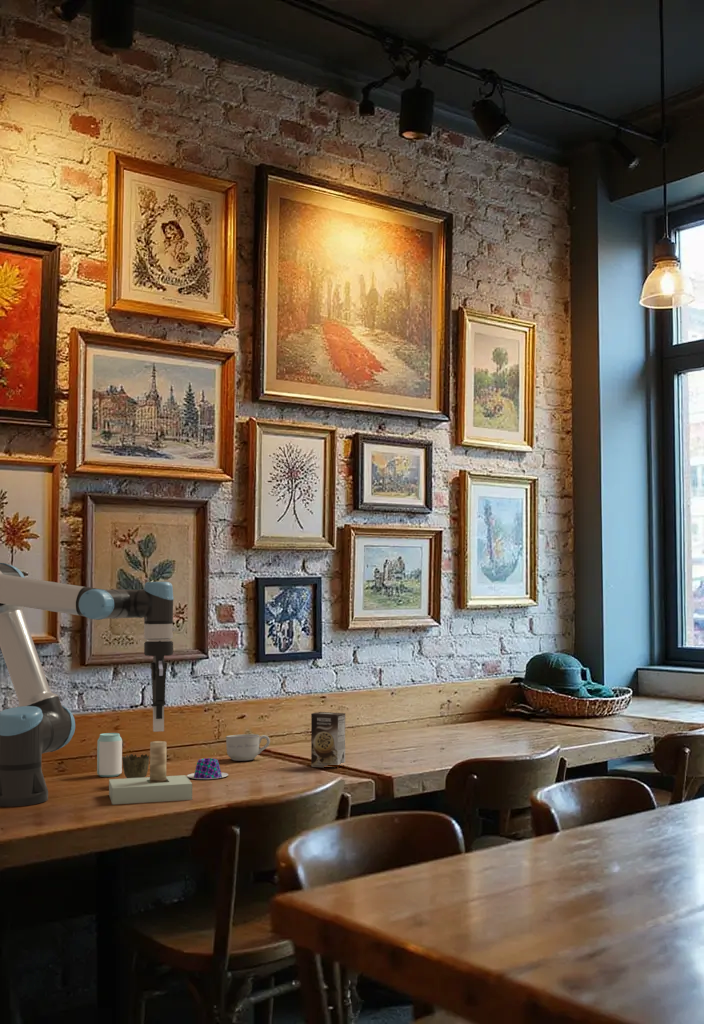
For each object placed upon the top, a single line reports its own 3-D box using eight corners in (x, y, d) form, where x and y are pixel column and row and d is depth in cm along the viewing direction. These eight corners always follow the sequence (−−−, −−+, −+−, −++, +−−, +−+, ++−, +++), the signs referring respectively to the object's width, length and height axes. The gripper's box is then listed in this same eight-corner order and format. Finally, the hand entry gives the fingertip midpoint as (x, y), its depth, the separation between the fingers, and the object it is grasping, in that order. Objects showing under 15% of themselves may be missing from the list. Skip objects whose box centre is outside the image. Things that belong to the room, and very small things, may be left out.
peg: (150, 798, 274) (150, 743, 275) (148, 795, 278) (149, 741, 279) (167, 797, 275) (167, 742, 276) (165, 794, 279) (165, 740, 280)
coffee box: (310, 767, 323) (310, 713, 324) (319, 764, 329) (318, 711, 330) (337, 768, 319) (337, 714, 321) (346, 765, 325) (345, 712, 327)
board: (112, 804, 266) (112, 788, 267) (108, 794, 280) (109, 779, 280) (192, 799, 272) (192, 783, 272) (185, 790, 285) (185, 775, 286)
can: (116, 772, 316) (117, 731, 317) (125, 775, 310) (125, 734, 311) (93, 775, 312) (94, 733, 313) (101, 778, 306) (102, 736, 307)
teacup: (223, 762, 333) (223, 736, 334) (228, 757, 344) (228, 732, 345) (267, 762, 333) (267, 736, 333) (271, 757, 344) (271, 732, 344)
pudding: (236, 777, 307) (236, 759, 307) (202, 782, 298) (202, 764, 299) (212, 773, 315) (212, 755, 316) (178, 778, 307) (178, 759, 308)
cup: (152, 782, 298) (152, 753, 298) (144, 787, 290) (145, 757, 291) (126, 782, 298) (126, 753, 299) (118, 787, 291) (118, 757, 292)
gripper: (176, 640, 274) (175, 733, 272) (170, 639, 287) (170, 727, 285) (146, 641, 272) (146, 734, 270) (142, 639, 285) (141, 729, 283)
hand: (158, 731), depth 278 cm, fingers closed
